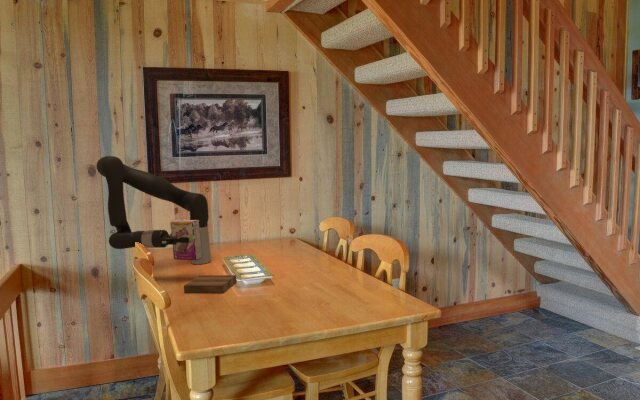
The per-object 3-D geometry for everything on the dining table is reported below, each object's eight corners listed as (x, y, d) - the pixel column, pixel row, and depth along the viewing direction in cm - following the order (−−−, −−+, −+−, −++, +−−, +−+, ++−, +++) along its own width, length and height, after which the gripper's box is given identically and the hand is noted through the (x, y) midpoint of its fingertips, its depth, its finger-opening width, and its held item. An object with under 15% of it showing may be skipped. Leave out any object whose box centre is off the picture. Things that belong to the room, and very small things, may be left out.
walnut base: (200, 282, 220) (199, 275, 219) (236, 282, 216) (235, 275, 216) (184, 293, 206) (183, 285, 206) (222, 293, 202) (222, 285, 202)
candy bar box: (173, 260, 224) (169, 221, 222) (180, 257, 229) (176, 219, 227) (196, 260, 220) (192, 221, 218) (202, 257, 225) (199, 219, 223)
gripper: (145, 233, 219) (182, 233, 215) (162, 226, 233) (198, 226, 229) (147, 251, 220) (184, 251, 216) (164, 243, 234) (200, 243, 230)
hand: (191, 238), depth 223 cm, fingers closed on candy bar box, 5 cm apart
